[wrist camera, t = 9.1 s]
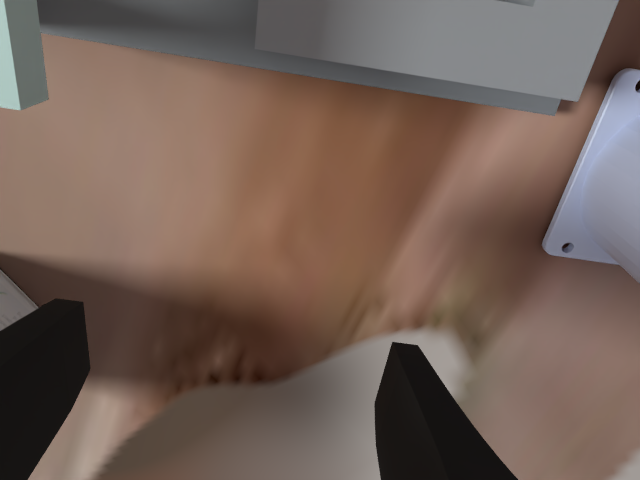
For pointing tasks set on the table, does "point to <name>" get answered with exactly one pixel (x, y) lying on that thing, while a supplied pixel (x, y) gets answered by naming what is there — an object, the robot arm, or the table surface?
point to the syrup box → (13, 302)
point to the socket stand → (335, 42)
